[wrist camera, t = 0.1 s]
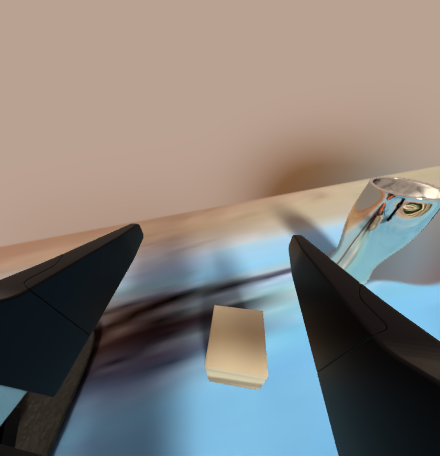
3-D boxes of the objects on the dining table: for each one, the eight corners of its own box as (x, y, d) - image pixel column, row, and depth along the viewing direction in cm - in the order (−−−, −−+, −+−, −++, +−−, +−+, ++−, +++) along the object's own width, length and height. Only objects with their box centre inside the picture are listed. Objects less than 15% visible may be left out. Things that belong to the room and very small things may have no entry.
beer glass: (321, 277, 26) (374, 192, 17) (322, 250, 31) (363, 172, 22) (375, 296, 23) (472, 207, 14) (366, 263, 28) (435, 180, 19)
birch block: (258, 390, 16) (268, 377, 12) (209, 381, 16) (204, 366, 13) (255, 333, 20) (262, 311, 16) (216, 328, 20) (214, 305, 17)
